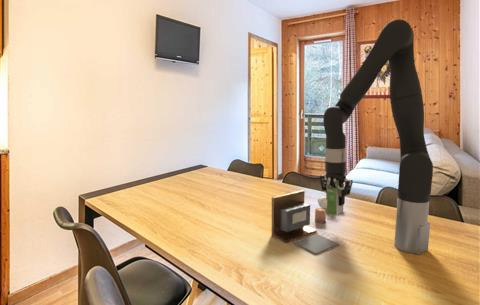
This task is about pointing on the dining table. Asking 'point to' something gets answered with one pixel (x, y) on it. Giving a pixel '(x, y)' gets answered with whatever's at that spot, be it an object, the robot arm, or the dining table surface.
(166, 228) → the dining table surface
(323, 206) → the bust
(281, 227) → the open brown box
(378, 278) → the dining table surface
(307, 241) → the mat
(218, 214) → the dining table surface
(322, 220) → the brown egg
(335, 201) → the ink box
